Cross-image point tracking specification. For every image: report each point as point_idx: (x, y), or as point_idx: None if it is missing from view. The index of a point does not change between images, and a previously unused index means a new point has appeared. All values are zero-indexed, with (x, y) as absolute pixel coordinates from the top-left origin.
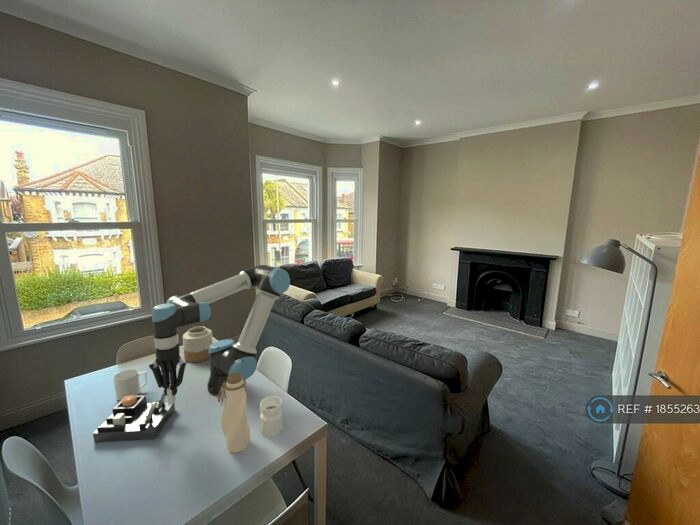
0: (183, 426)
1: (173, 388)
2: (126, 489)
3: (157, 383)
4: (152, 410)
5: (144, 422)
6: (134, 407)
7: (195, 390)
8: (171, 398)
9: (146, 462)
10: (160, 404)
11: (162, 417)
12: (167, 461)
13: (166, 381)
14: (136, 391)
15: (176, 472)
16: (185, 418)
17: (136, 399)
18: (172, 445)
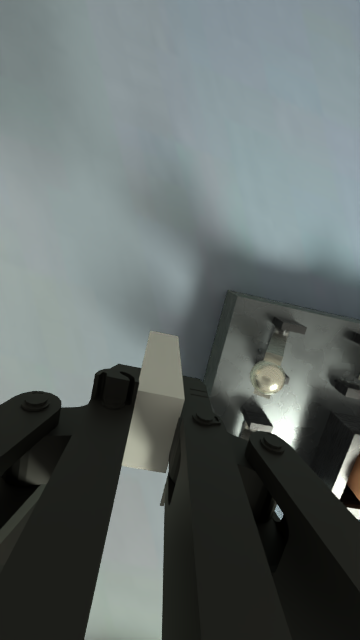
0: (135, 330)
1: (97, 380)
2: (264, 41)
3: (321, 482)
4: (267, 348)
5: (285, 336)
6: (353, 437)
7: (138, 528)
8: (147, 346)
9: (227, 167)
10: (243, 437)
11: (218, 368)
12: (150, 143)
13: (188, 487)
14: None
15: (99, 63)
16: None
17: (357, 489)
18: (152, 231)
